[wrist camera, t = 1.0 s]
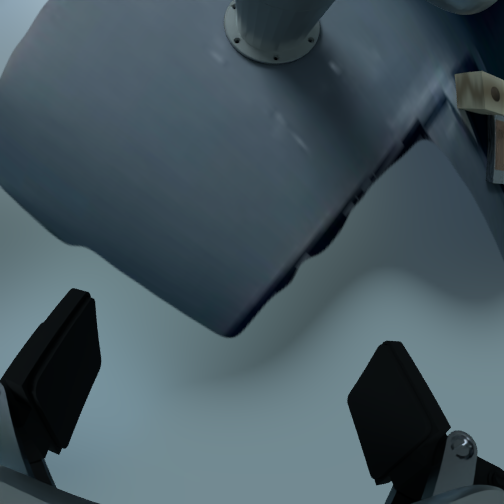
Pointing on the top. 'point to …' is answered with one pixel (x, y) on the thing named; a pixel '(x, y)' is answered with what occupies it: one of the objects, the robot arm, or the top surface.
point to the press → (495, 149)
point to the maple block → (480, 93)
